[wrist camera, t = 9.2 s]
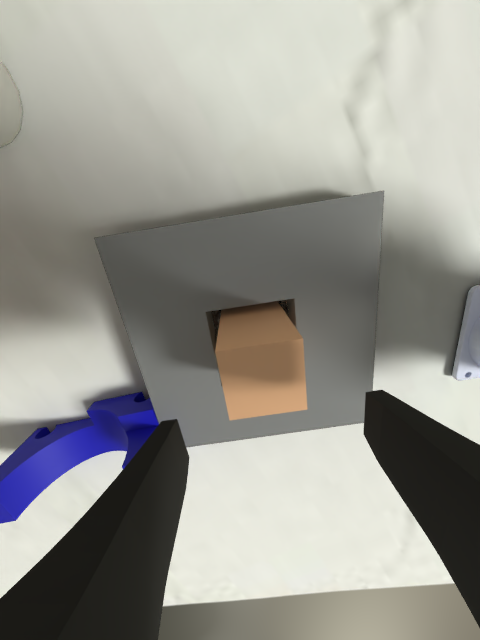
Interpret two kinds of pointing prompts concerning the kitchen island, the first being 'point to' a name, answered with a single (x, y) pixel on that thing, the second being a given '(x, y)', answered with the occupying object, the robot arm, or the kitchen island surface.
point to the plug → (260, 361)
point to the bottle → (9, 107)
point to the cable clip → (73, 448)
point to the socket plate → (248, 289)
